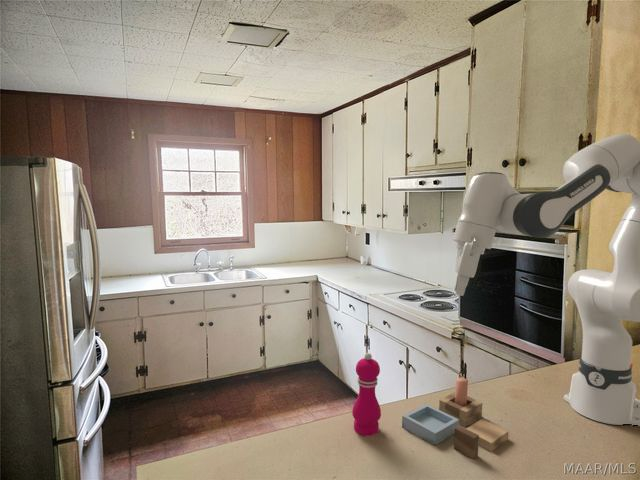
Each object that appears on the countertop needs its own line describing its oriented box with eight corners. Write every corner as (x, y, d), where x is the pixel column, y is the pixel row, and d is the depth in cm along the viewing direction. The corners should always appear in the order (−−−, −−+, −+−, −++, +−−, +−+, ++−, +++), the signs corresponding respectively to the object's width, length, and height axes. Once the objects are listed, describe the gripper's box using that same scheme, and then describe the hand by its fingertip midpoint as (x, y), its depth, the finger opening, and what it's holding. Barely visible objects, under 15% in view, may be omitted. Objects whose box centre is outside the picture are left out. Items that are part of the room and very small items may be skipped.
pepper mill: (379, 438, 102) (382, 360, 99) (350, 435, 103) (351, 357, 101) (381, 423, 109) (383, 349, 106) (353, 419, 110) (355, 346, 108)
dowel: (458, 411, 115) (460, 376, 114) (468, 415, 113) (470, 380, 112) (452, 414, 113) (453, 379, 112) (461, 419, 111) (463, 383, 110)
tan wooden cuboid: (481, 428, 108) (481, 419, 108) (507, 440, 102) (508, 431, 102) (464, 439, 103) (464, 429, 103) (490, 453, 97) (491, 443, 97)
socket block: (455, 404, 119) (456, 391, 118) (481, 416, 113) (482, 402, 112) (438, 413, 114) (439, 399, 113) (465, 426, 108) (466, 412, 107)
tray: (426, 414, 113) (426, 403, 113) (458, 430, 106) (459, 419, 105) (402, 426, 107) (402, 415, 107) (434, 445, 99) (435, 433, 99)
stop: (458, 445, 100) (459, 425, 99) (477, 455, 96) (479, 435, 95) (453, 448, 98) (454, 428, 98) (473, 459, 94) (474, 438, 94)
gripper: (492, 238, 89) (475, 301, 89) (483, 242, 108) (469, 293, 109) (461, 231, 91) (445, 292, 91) (458, 236, 110) (445, 287, 111)
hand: (458, 293), depth 100 cm, fingers open, 8 cm apart
